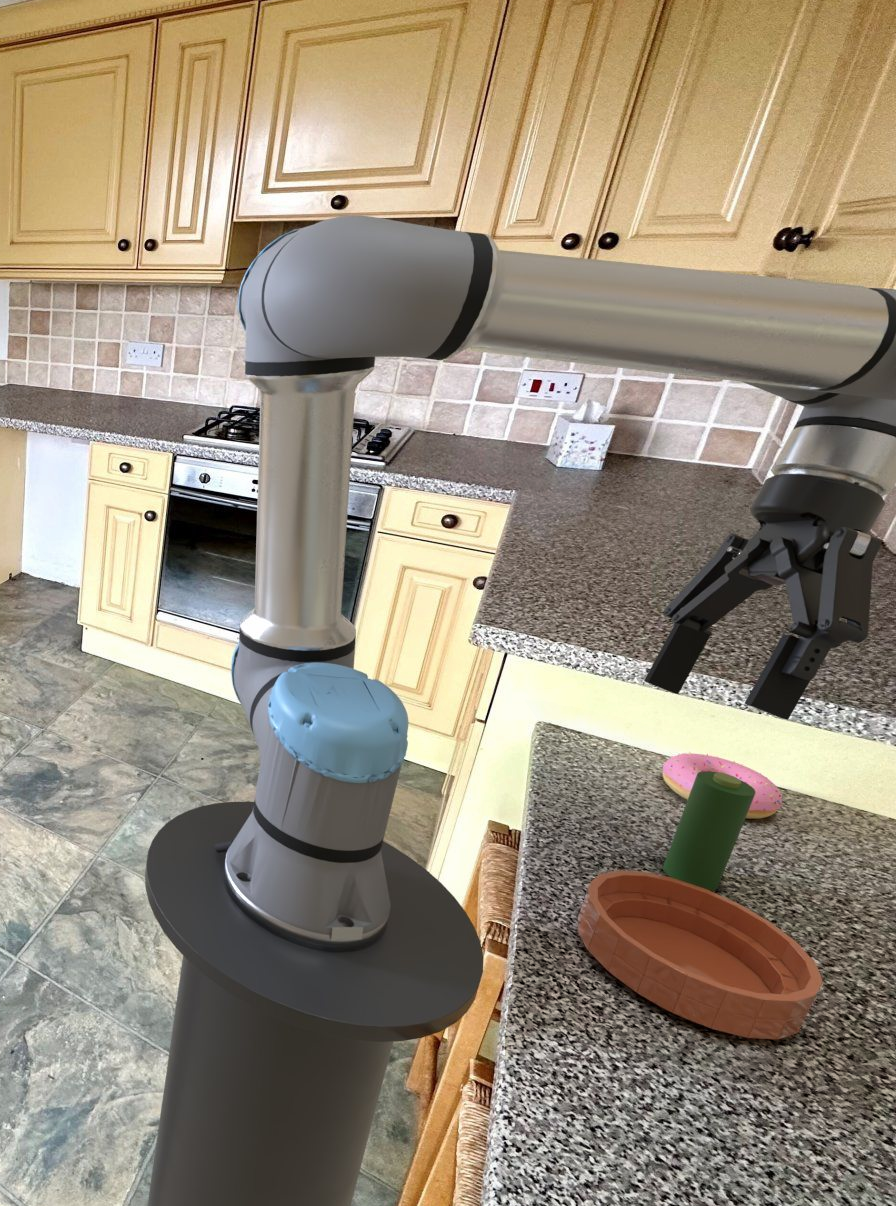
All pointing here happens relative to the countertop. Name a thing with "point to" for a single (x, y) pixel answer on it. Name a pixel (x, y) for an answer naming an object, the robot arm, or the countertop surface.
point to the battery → (708, 829)
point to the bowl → (698, 954)
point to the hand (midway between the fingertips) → (708, 699)
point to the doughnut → (686, 766)
